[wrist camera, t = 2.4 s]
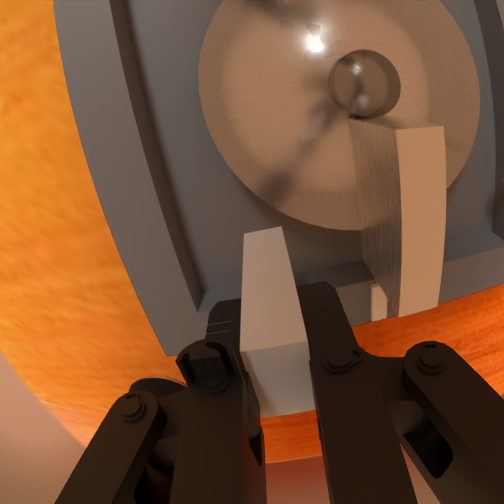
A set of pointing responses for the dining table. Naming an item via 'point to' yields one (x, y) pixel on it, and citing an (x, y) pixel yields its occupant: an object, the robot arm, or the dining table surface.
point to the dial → (348, 122)
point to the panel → (224, 179)
